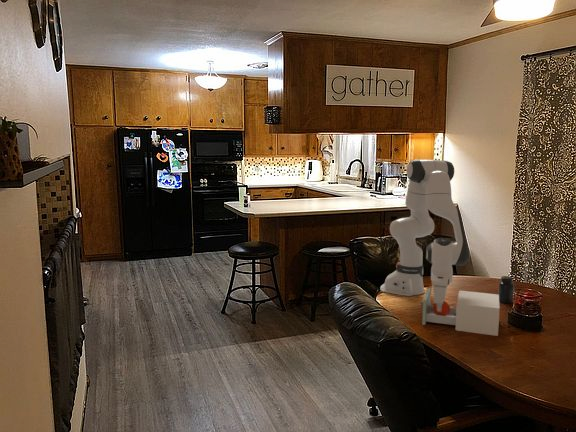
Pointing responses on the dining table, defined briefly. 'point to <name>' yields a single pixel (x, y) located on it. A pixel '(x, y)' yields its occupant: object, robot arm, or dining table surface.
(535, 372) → the dining table surface
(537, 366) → the dining table surface
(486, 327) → the block
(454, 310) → the grey drawer
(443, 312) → the clementine
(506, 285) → the supplement bottle
